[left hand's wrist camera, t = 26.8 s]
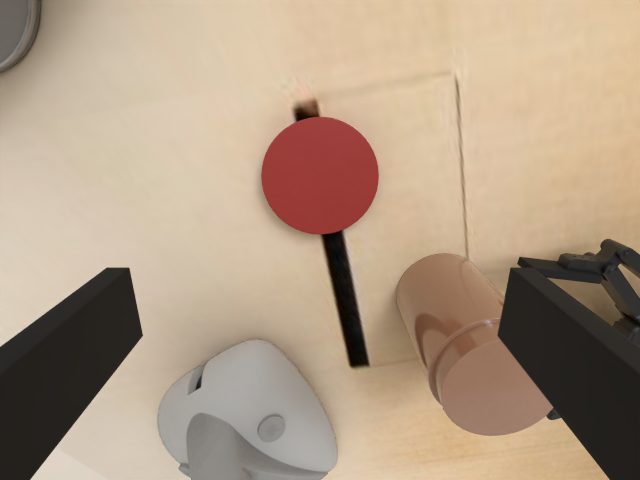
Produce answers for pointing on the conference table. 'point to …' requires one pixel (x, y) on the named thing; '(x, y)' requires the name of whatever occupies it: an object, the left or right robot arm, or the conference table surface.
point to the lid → (320, 175)
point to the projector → (247, 419)
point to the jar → (466, 347)
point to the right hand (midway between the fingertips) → (503, 326)
